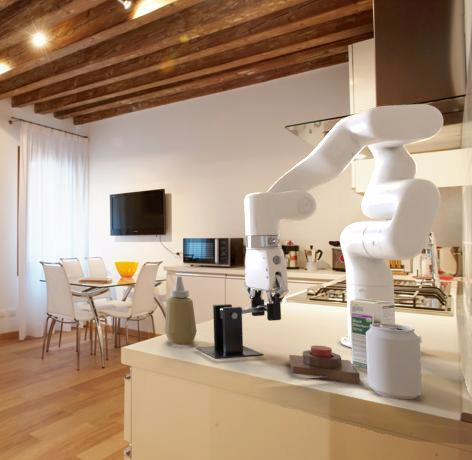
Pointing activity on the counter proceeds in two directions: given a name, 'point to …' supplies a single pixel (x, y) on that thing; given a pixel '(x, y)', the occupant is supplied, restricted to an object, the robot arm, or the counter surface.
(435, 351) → the counter surface
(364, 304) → the syrup box
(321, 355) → the button
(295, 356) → the button block
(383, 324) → the can
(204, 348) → the bracket
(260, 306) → the lever
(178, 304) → the squeeze bottle
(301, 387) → the counter surface
